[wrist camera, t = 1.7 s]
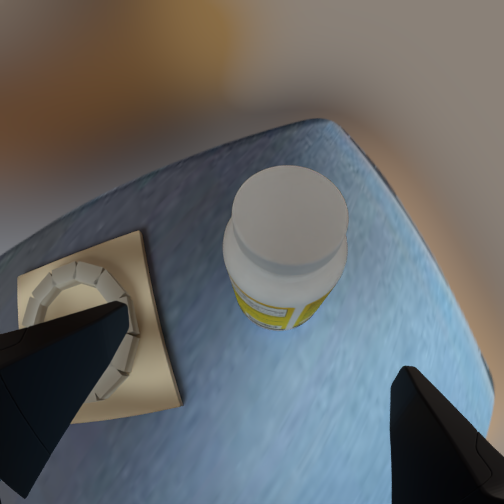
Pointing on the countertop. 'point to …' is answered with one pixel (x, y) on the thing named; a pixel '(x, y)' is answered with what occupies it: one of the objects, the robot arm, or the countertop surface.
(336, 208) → the pill bottle
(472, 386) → the countertop surface
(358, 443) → the countertop surface
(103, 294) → the collar board
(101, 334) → the robot arm
